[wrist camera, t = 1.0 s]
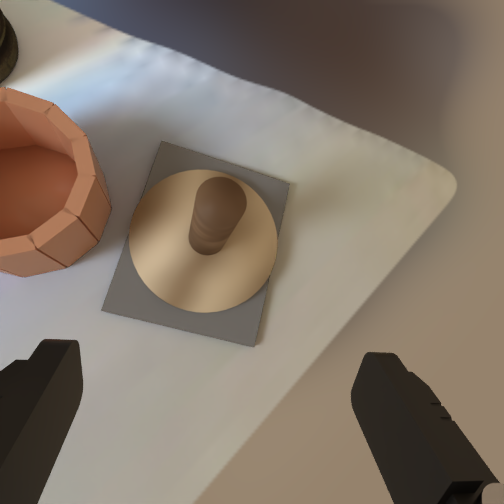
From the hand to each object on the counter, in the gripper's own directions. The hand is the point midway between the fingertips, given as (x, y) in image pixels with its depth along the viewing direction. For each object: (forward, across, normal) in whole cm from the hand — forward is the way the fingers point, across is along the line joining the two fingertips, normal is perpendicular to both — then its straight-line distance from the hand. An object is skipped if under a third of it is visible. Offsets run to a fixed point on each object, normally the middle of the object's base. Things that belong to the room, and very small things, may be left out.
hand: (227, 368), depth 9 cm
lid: (+18, +1, +4) cm, 19 cm away
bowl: (+19, +14, +3) cm, 24 cm away
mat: (+19, +1, +5) cm, 19 cm away
